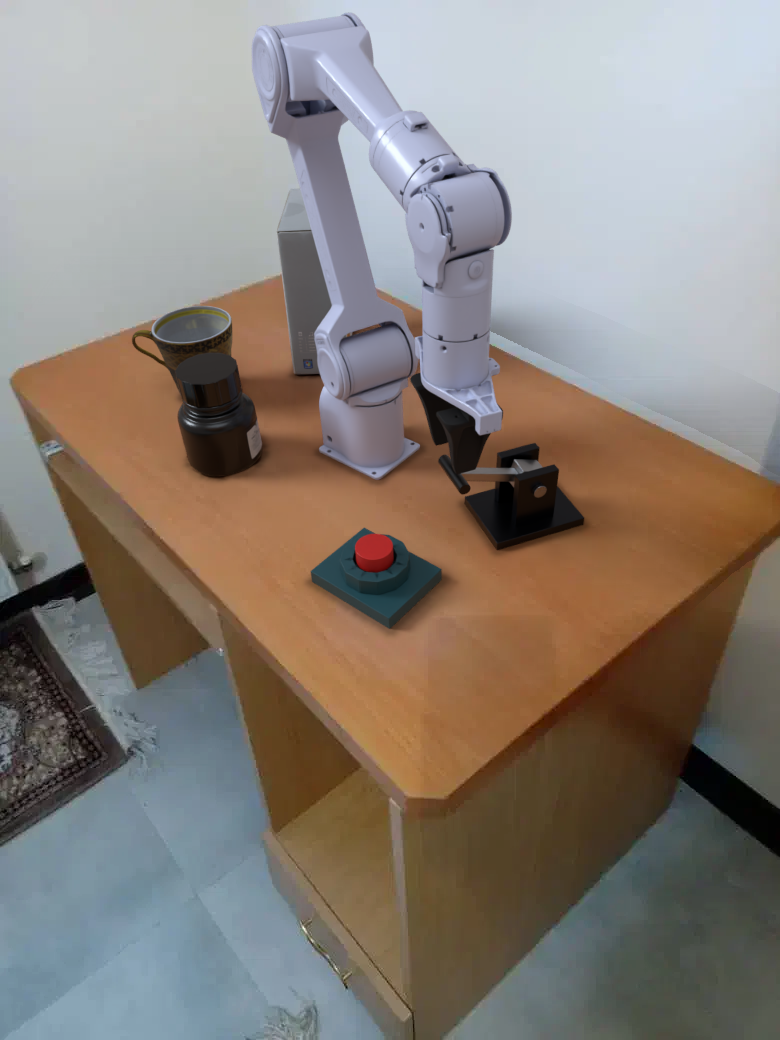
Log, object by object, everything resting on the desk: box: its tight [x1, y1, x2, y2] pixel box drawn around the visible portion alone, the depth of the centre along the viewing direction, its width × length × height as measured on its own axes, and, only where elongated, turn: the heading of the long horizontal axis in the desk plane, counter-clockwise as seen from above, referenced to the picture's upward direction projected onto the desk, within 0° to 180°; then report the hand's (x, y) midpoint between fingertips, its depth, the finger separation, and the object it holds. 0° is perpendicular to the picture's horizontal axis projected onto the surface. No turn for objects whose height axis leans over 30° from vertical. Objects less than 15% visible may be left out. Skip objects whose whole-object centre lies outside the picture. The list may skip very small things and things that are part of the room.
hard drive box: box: [276, 188, 353, 376], centre depth 107 cm, size 16×8×20 cm, turn 179°
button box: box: [310, 527, 443, 630], centre depth 77 cm, size 10×8×4 cm
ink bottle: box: [175, 353, 263, 477], centre depth 91 cm, size 10×9×12 cm
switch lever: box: [437, 454, 543, 496], centre depth 79 cm, size 10×5×2 cm, turn 111°
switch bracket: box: [464, 442, 585, 551], centre depth 82 cm, size 10×8×7 cm
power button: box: [355, 533, 394, 573], centre depth 75 cm, size 4×4×2 cm
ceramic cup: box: [131, 305, 233, 396], centre depth 102 cm, size 13×10×10 cm
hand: (454, 455), depth 76 cm, fingers open, 4 cm apart
